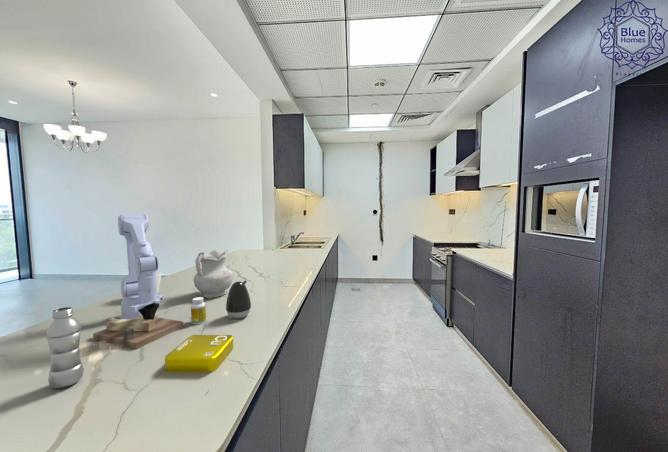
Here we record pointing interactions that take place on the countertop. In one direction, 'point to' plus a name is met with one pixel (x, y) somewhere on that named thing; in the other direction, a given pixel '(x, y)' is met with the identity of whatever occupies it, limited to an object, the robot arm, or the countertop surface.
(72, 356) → the plastic bottle
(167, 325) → the wooden board
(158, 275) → the cup
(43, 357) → the countertop surface
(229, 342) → the element tile
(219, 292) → the ceramic pitcher
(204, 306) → the supplement bottle
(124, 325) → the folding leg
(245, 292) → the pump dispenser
